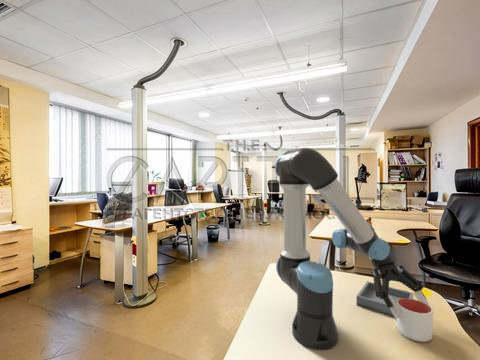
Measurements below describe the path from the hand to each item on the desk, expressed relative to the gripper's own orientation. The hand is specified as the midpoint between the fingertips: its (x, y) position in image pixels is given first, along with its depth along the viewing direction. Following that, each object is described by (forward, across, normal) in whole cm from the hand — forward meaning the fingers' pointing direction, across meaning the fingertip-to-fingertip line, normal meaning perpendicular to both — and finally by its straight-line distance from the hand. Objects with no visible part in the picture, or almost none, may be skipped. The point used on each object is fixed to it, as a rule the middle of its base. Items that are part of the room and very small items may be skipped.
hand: (414, 313), depth 85 cm
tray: (-8, -6, -17) cm, 19 cm away
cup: (+5, +1, -4) cm, 7 cm away
